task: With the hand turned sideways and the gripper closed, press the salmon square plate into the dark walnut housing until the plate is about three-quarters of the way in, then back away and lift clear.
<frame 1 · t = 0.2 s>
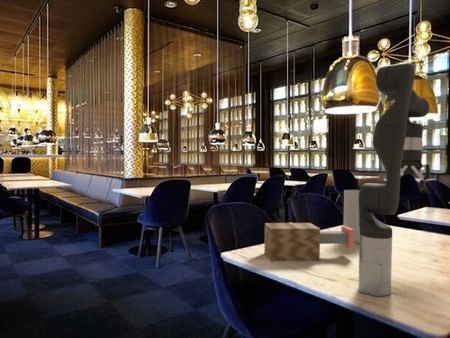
hand: (409, 189, 141), 29 cm above the table, tool pointing down, fingers open, 8 cm apart
salmon square plate: (326, 237, 144), point 8 cm above the table, slide at 0.0 cm
housing: (290, 256, 143), on the table
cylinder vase: (356, 241, 172), on the table
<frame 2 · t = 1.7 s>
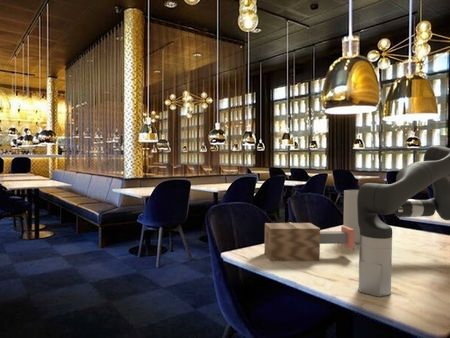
hand: (370, 208, 145), 20 cm above the table, tool horizontal, fingers open, 6 cm apart
nothing on the table moved.
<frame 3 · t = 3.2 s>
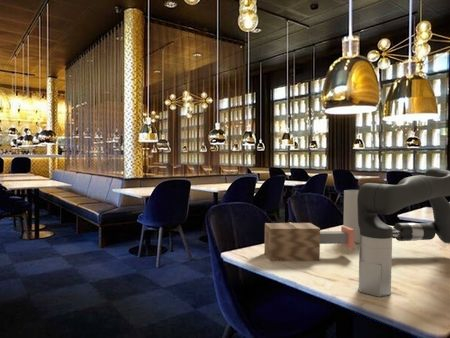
hand: (368, 232, 146), 10 cm above the table, tool horizontal, fingers closed
nothing on the table moved.
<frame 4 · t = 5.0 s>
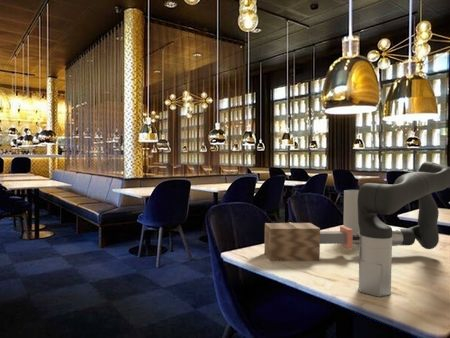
hand: (348, 237, 145), 8 cm above the table, tool horizontal, fingers closed
salmon square plate: (325, 237, 144), point 8 cm above the table, slide at 0.6 cm, touching gripper
everything else where it was.
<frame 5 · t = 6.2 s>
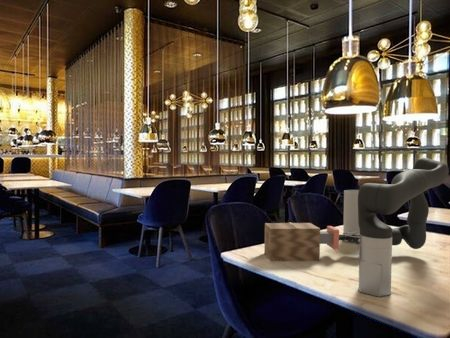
hand: (335, 237, 144), 8 cm above the table, tool horizontal, fingers closed
salmon square plate: (311, 237, 144), point 8 cm above the table, slide at 6.3 cm, touching gripper
everything else where it was.
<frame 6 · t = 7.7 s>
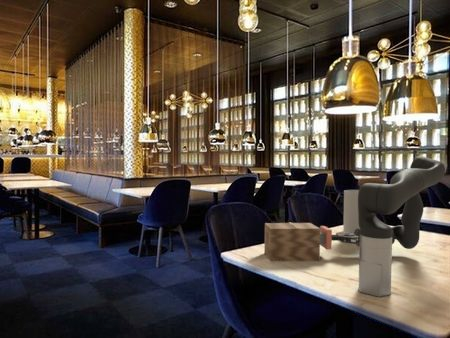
hand: (328, 237, 144), 8 cm above the table, tool horizontal, fingers closed
salmon square plate: (304, 237, 144), point 8 cm above the table, slide at 9.4 cm, touching gripper
everything else where it was.
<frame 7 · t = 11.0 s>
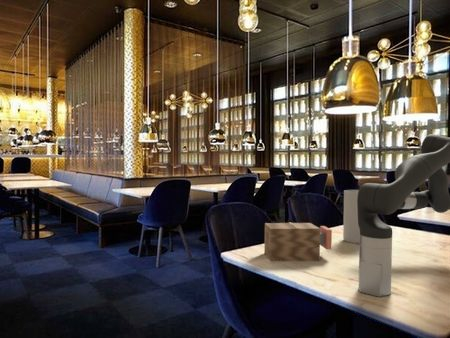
hand: (361, 199, 145), 24 cm above the table, tool horizontal, fingers closed
salmon square plate: (304, 237, 144), point 8 cm above the table, slide at 9.4 cm
everything else where it was.
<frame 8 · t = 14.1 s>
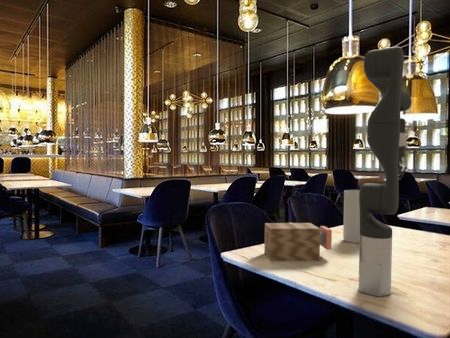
hand: (393, 189, 135), 29 cm above the table, tool pointing down, fingers closed
nothing on the table moved.
at the end: salmon square plate slide at 9.4 cm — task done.
